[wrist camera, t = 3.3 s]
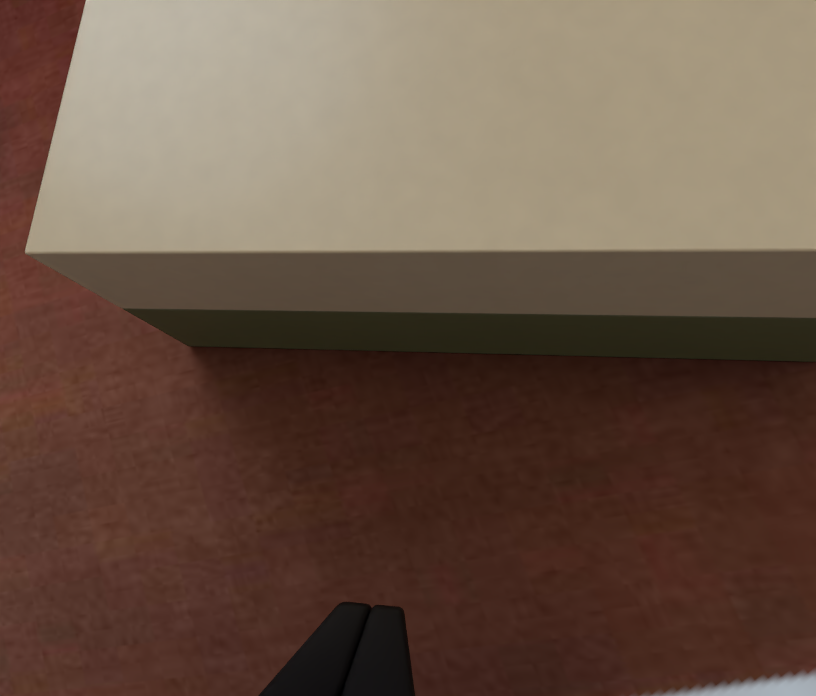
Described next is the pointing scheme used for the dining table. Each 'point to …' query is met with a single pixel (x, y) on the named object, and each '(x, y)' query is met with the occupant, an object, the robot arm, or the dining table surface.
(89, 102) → the beige lidded box
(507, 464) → the dining table surface
